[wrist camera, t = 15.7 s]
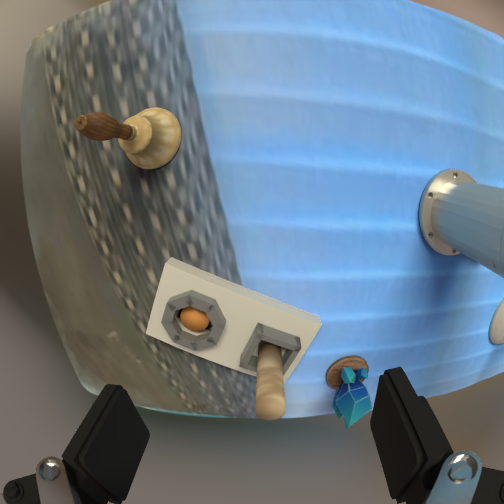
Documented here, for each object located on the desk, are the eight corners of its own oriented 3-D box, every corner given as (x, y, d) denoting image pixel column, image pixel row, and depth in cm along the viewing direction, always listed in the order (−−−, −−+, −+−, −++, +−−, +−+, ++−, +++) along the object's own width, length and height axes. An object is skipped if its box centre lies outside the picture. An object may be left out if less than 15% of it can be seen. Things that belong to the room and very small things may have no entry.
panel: (319, 315, 39) (325, 335, 34) (282, 374, 42) (283, 396, 38) (171, 257, 38) (158, 270, 33) (151, 325, 41) (139, 342, 36)
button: (215, 305, 39) (213, 312, 37) (206, 327, 40) (203, 335, 38) (188, 294, 38) (184, 301, 37) (180, 317, 40) (177, 324, 38)
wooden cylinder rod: (284, 342, 38) (290, 406, 26) (275, 358, 39) (277, 422, 27) (263, 335, 37) (262, 399, 26) (254, 352, 38) (250, 416, 27)
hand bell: (124, 113, 32) (47, 93, 17) (181, 103, 32) (123, 66, 16) (125, 172, 34) (46, 182, 19) (182, 166, 34) (122, 170, 19)
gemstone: (320, 391, 43) (330, 445, 32) (331, 352, 41) (347, 407, 29) (360, 389, 43) (377, 440, 32) (374, 351, 41) (399, 403, 29)
